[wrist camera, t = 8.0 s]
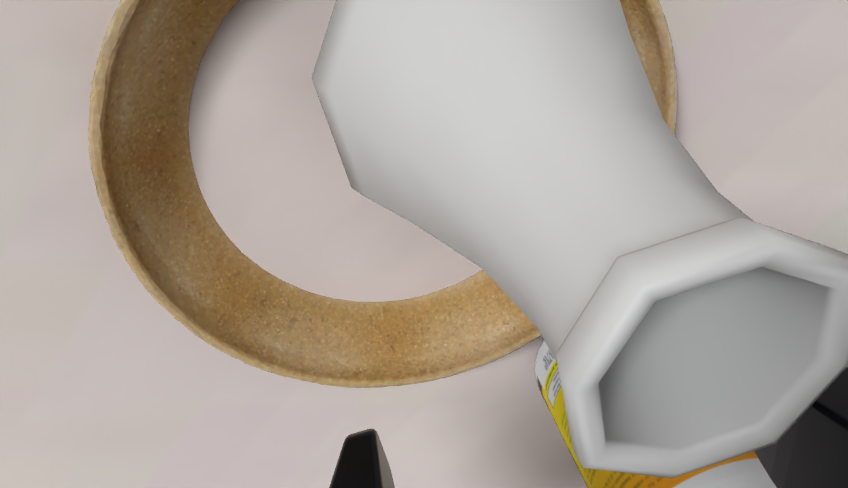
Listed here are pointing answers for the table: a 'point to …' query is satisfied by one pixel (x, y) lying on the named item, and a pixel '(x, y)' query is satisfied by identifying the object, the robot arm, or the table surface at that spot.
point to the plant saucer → (237, 274)
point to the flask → (587, 221)
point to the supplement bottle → (717, 484)
